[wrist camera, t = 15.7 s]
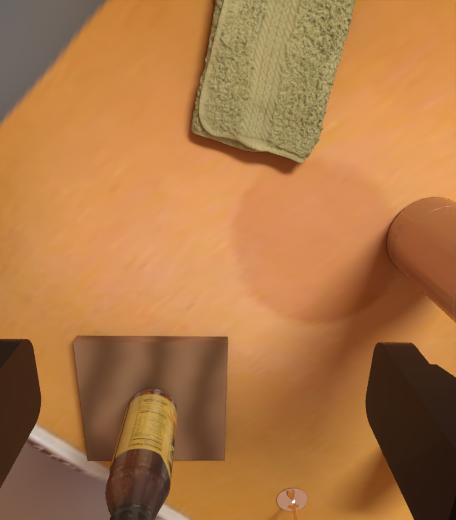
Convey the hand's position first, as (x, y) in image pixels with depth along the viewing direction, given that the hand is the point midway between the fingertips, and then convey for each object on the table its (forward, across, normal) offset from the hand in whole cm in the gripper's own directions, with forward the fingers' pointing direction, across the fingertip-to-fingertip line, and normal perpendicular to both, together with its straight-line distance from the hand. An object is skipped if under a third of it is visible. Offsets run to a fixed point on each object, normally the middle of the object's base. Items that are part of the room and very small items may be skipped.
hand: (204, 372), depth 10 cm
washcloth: (+37, -6, -10) cm, 38 cm away
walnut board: (+36, +7, +30) cm, 47 cm away
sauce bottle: (+35, +7, +30) cm, 46 cm away
